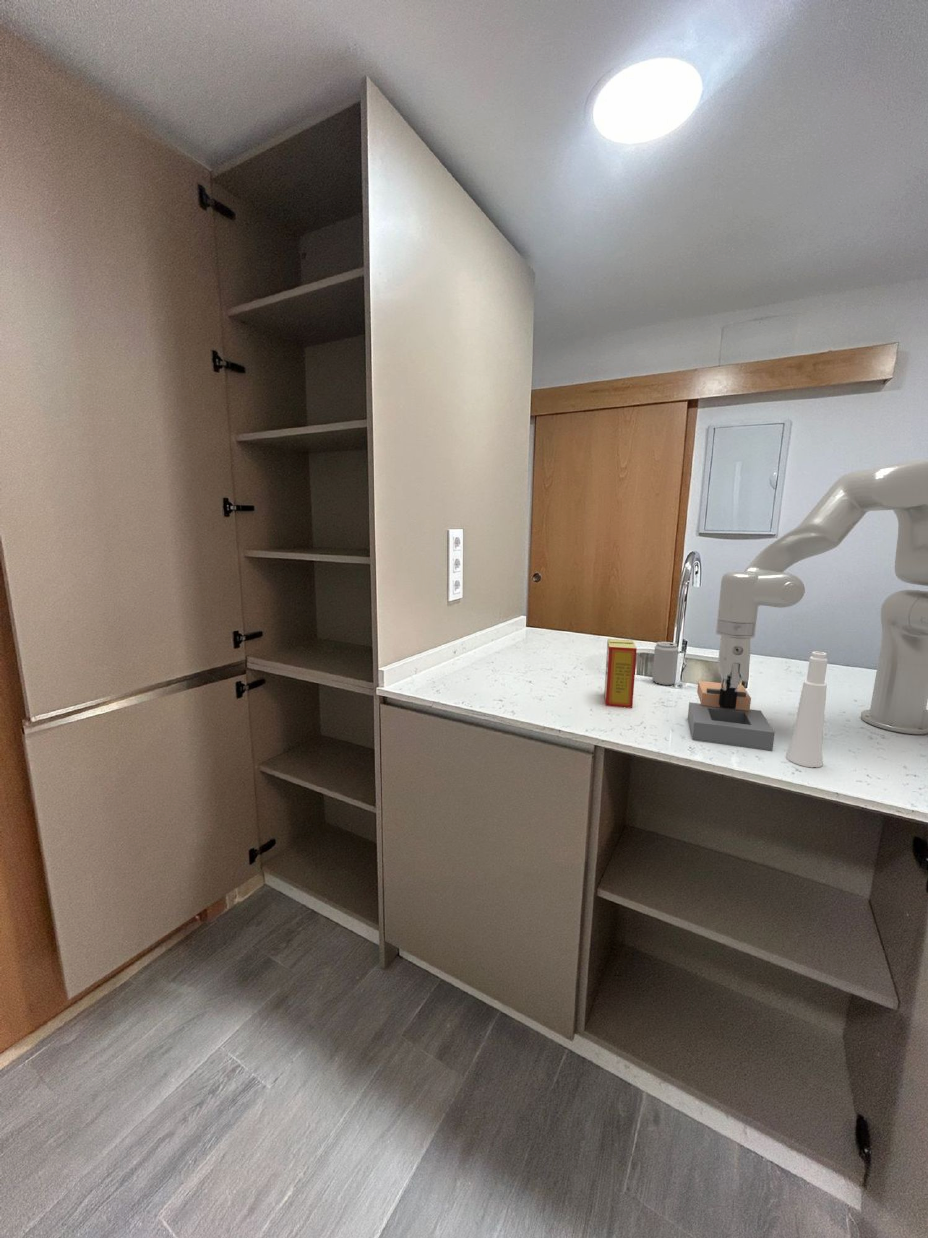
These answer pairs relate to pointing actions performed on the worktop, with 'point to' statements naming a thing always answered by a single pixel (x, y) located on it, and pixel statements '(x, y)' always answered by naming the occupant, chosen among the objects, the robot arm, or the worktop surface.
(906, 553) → the robot arm
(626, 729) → the worktop surface
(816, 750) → the cosmetic bottle
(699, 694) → the orange slotted box
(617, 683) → the baking soda box
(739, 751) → the worktop surface
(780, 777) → the worktop surface
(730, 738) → the socket block
